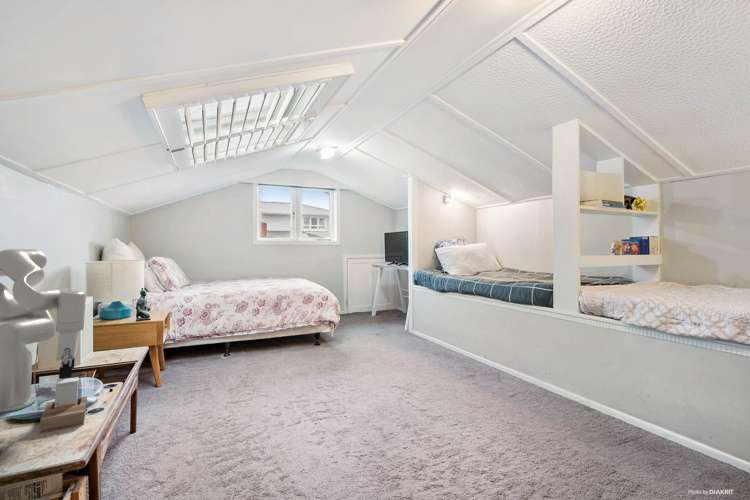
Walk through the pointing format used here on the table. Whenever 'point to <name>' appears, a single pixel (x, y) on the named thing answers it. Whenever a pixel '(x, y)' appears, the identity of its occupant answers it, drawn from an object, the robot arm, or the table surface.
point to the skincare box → (66, 392)
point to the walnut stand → (63, 416)
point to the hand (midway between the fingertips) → (66, 373)
